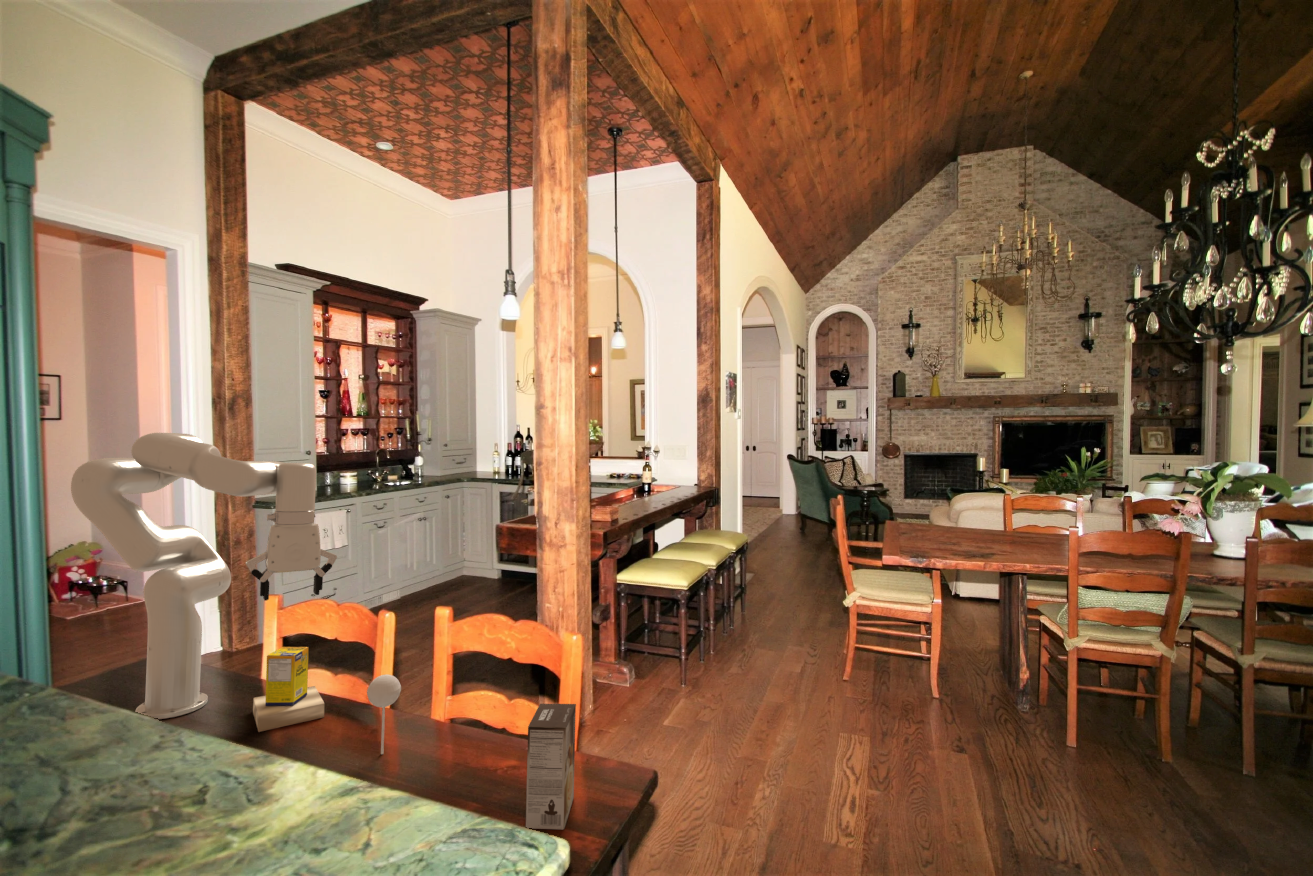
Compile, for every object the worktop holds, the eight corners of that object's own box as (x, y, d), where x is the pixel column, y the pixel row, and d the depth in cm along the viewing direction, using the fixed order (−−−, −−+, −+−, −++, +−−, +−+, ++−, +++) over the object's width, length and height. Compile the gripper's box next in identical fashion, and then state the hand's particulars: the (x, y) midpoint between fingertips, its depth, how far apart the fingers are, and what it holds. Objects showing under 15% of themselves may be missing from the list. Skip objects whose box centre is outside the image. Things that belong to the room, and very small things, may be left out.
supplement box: (307, 695, 136) (309, 646, 137) (293, 706, 130) (294, 655, 131) (280, 695, 136) (282, 646, 136) (264, 706, 130) (266, 655, 130)
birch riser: (252, 711, 134) (253, 698, 134) (314, 699, 142) (314, 686, 142) (258, 732, 125) (258, 717, 125) (323, 717, 132) (324, 703, 132)
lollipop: (406, 749, 119) (408, 672, 119) (383, 764, 113) (386, 683, 114) (380, 744, 121) (383, 668, 121) (357, 758, 115) (360, 678, 116)
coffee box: (537, 796, 104) (539, 701, 104) (574, 797, 104) (576, 703, 104) (524, 829, 95) (527, 725, 95) (565, 831, 95) (567, 727, 95)
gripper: (249, 522, 126) (245, 605, 126) (341, 518, 137) (338, 595, 136) (246, 518, 132) (242, 597, 132) (334, 515, 143) (331, 588, 142)
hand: (291, 596), depth 134 cm, fingers open, 9 cm apart
